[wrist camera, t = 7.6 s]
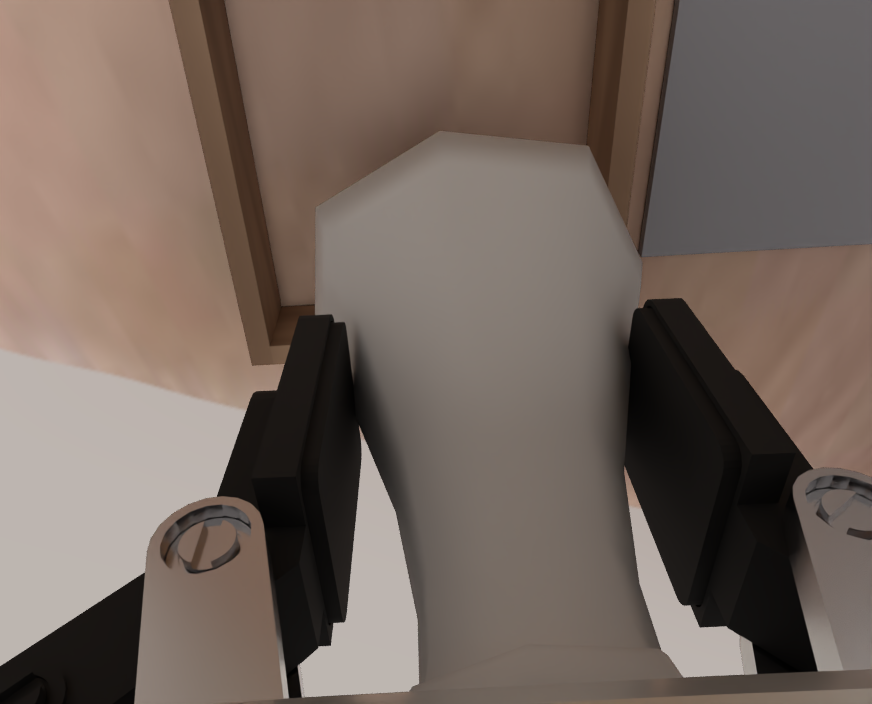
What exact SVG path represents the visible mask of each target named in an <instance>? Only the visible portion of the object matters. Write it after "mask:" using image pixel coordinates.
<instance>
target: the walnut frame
mask: <svg viewBox="0 0 872 704" xmlns="http://www.w3.org/2000/svg"><path fill="white" fill-rule="evenodd" d="M169 4H170V9H171V13H172V17H173V22H174V26H175V31H176V35H177V39H178V44H179V48H180V52H181V57H182V61H183V66H184V70H185V74H186V79H187V83H188V87H189V92H190V96H191V100H192V105H193V109H194V114H195V118H196V122H197V127H198V131H199V135H200V140H201V144H202V149H203V153H204V157H205V162H206V166H207V170H208V175H209V179H210V184H211V188H212V192H213V197H214V201H215V205H216V210H217V214H218V218H219V223H220V227H221V232H222V236H223V240H224V245H225V249H226V253H227V258H228V262H229V267H230V271H231V275H232V280H233V284H234V288H235V293H236V297H237V301H238V306H239V310H240V315H241V319H242V323H243V328H244V332H245V336H246V341H247V345H248V350H249V354H250V358H251V363H252V366H254V365H270V364H285V362H286V358H287V355H288V352H289V348H290V345H291V341H292V338H293V335H294V331H295V328H296V325H297V321H298V318H299V316H304V315H315V305H307V306H289V307H281V302H280V297H279V291H278V286H277V281H276V275H275V270H274V265H273V259H272V254H271V249H270V243H269V238H268V233H267V227H266V222H265V217H264V212H263V206H262V201H261V196H260V190H259V185H258V180H257V174H256V169H255V164H254V158H253V153H252V148H251V142H250V137H249V132H248V126H247V121H246V116H245V110H244V105H243V100H242V95H241V89H240V84H239V79H238V73H237V68H236V63H235V57H234V52H233V47H232V41H231V36H230V31H229V25H228V20H227V15H226V9H225V4H224V0H169ZM655 7H656V0H600V1H599V12H598V23H597V34H596V45H595V56H594V68H593V79H592V90H591V101H590V112H589V123H588V135H587V146H589V148H590V150H591V152H592V154H593V157H594V159H595V161H596V163H597V165H598V167H599V170H600V172H601V174H602V176H603V178H604V180H605V183H606V185H607V187H608V189H609V191H610V193H611V196H612V198H613V200H614V202H615V204H616V206H617V208H618V211H619V213H620V215H621V217H622V219H623V221H624V224H625V226H626V228H627V220H628V212H629V205H630V197H631V190H632V182H633V174H634V167H635V159H636V152H637V144H638V136H639V129H640V121H641V114H642V106H643V98H644V91H645V83H646V76H647V68H648V60H649V53H650V45H651V38H652V30H653V23H654V15H655Z"/></svg>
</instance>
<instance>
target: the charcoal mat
mask: <svg viewBox="0 0 872 704" xmlns="http://www.w3.org/2000/svg"><path fill="white" fill-rule="evenodd" d="M862 244H872V0H675V4H674V11H673V18H672V25H671V32H670V39H669V46H668V53H667V59H666V66H665V73H664V80H663V87H662V94H661V101H660V108H659V114H658V121H657V128H656V135H655V142H654V149H653V156H652V163H651V169H650V176H649V183H648V190H647V197H646V204H645V211H644V218H643V224H642V231H641V238H640V245H639V252H638V253H639V254H640V256H641V257H652V256H670V255H687V254H705V253H722V252H740V251H757V250H775V249H792V248H809V247H827V246H844V245H862Z"/></svg>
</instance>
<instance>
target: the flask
mask: <svg viewBox="0 0 872 704" xmlns="http://www.w3.org/2000/svg"><path fill="white" fill-rule="evenodd" d="M641 277H642V260H641V258H640V256H639V254H638V252H637V250H636V247H635V245H634V243H633V241H632V239H631V237H630V234H629V232H628V230H627V228H626V226H625V224H624V221H623V219H622V217H621V215H620V213H619V211H618V208H617V206H616V204H615V202H614V200H613V198H612V196H611V193H610V191H609V189H608V187H607V185H606V183H605V180H604V178H603V176H602V174H601V172H600V170H599V167H598V165H597V163H596V161H595V159H594V157H593V154H592V152H591V150H590V148H589V146H586V145H576V144H567V143H557V142H547V141H537V140H527V139H517V138H507V137H497V136H487V135H477V134H467V133H457V132H447V131H438V132H437V133H435V134H433V135H432V136H430V137H429V138H427V139H425V140H424V141H422V142H420V143H419V144H417V145H416V146H414V147H412V148H411V149H409V150H407V151H406V152H404V153H403V154H401V155H399V156H398V157H396V158H395V159H393V160H391V161H390V162H388V163H386V164H385V165H383V166H382V167H380V168H378V169H377V170H375V171H374V172H372V173H370V174H369V175H367V176H365V177H364V178H362V179H361V180H359V181H357V182H356V183H354V184H353V185H351V186H349V187H348V188H346V189H344V190H343V191H341V192H340V193H338V194H336V195H335V196H333V197H332V198H330V199H328V200H327V201H325V202H323V203H322V204H320V205H319V206H317V207H316V218H315V315H326V314H332V315H333V318H334V322H345V325H346V330H347V337H348V345H349V353H350V361H351V369H352V376H353V386H354V400H355V416H356V419H357V421H358V424H359V426H360V428H361V431H362V433H363V435H364V438H365V440H366V443H367V445H368V447H369V450H370V452H371V454H372V457H373V459H374V462H375V464H376V466H377V468H378V471H379V473H380V476H381V478H382V480H383V483H384V485H385V488H386V490H387V492H388V495H389V497H390V500H391V502H392V504H393V507H394V509H395V511H396V515H397V520H398V525H399V530H400V535H401V539H402V545H403V550H404V554H405V559H406V564H407V569H408V574H409V579H410V584H411V589H412V594H413V598H414V604H415V609H416V613H417V618H418V648H419V649H418V650H419V684H418V685H416V686H413V687H412V688H411V690H410V691H409V692H412V691H430V690H448V689H467V688H486V687H505V686H525V685H545V684H565V683H584V682H604V681H625V680H645V679H666V678H683V677H682V675H681V674H680V672H679V671H678V669H677V668H676V667H675V665H674V664H673V662H672V661H671V659H670V658H669V656H668V655H667V654H665V653H664V652H662V651H661V648H660V645H659V642H658V639H657V636H656V633H655V630H654V627H653V624H652V621H651V618H650V615H649V612H648V608H647V605H646V602H645V599H644V596H643V593H642V590H641V587H640V584H639V578H638V571H637V563H636V556H635V548H634V541H633V534H632V527H631V519H630V512H629V505H628V497H627V490H626V483H625V476H624V464H625V449H626V434H627V419H628V404H629V389H630V374H631V360H630V355H629V349H628V344H629V337H630V330H631V323H632V317H633V313H634V310H635V309H636V308H638V304H639V297H640V289H641Z"/></svg>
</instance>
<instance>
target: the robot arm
mask: <svg viewBox="0 0 872 704" xmlns="http://www.w3.org/2000/svg"><path fill="white" fill-rule="evenodd" d="M628 349H629V355H630V360H631V374H630V389H629V404H628V419H627V434H626V449H625V464H624V465H625V468H626V470H627V473H628V475H629V478H630V480H631V483H632V485H633V488H634V490H635V493H636V495H637V498H638V500H639V503H640V505H641V508H642V510H643V513H644V515H645V518H646V521H647V523H648V525H649V528H650V531H651V533H652V536H653V538H654V540H655V543H656V545H657V548H658V551H659V553H660V555H661V558H662V561H663V563H664V565H665V568H666V571H667V573H668V576H669V578H670V581H671V583H672V586H673V588H674V591H675V594H676V596H677V598H678V600H679V602H680V603H681V604H682V605H691V607H692V610H693V612H694V615H695V617H696V619H697V622H698V624H699V627H718V626H727V627H728V628H729V629H731V630H733V631H734V632H735V633H737V634H739V635H740V650H741V657H742V663H743V670H744V675H729V676H706V677H688V678H687V677H686V678H666V679H645V680H625V681H604V682H584V683H565V684H545V685H525V686H505V687H486V688H467V689H448V690H430V691H412V692H395V693H377V694H359V695H340V696H322V697H305V696H304V688H303V682H302V674H301V667H300V663H302V662H303V661H304V660H305V659H306V658H307V657H308V656H309V655H311V654H312V653H313V652H314V651H315V650H316V649H318V646H331V638H332V630H333V623H339V622H345V620H346V613H347V604H348V594H349V583H350V573H351V562H352V552H353V541H354V531H355V521H356V510H357V500H358V489H359V478H360V469H361V439H360V431H359V424H358V421H357V419H356V416H355V400H354V386H353V376H352V369H351V361H350V353H349V345H348V337H347V330H346V325H345V322H334V318H333V315H332V314H326V315H304V316H299V318H298V321H297V325H296V328H295V331H294V335H293V338H292V341H291V345H290V348H289V352H288V355H287V358H286V362H285V365H284V369H283V372H282V375H281V379H280V382H279V386H278V389H277V390H276V391H256V392H255V393H253V395H252V397H251V399H250V402H249V405H248V408H247V411H246V414H245V417H244V419H243V422H242V425H241V428H240V431H239V434H238V437H237V440H236V443H235V445H234V449H233V451H232V454H231V457H230V460H229V463H228V466H227V468H226V471H225V474H224V478H223V480H222V483H221V486H220V489H219V492H218V495H217V497H213V498H206V499H203V500H199V501H197V502H194V503H191V504H188V505H187V506H185V507H183V508H181V509H180V510H178V511H176V512H174V513H173V514H171V515H170V516H169V517H168V518H167V519H166V520H165V521H164V522H163V523H161V524H160V525H159V527H158V528H157V530H156V531H155V533H154V534H153V536H152V537H151V539H150V543H149V546H148V550H147V557H146V569H145V573H143V574H142V575H140V576H139V577H137V578H136V579H134V580H132V581H131V582H129V583H128V584H126V585H125V586H123V587H122V588H120V589H119V590H117V591H115V592H114V593H112V594H111V595H109V596H108V597H106V598H105V599H103V600H102V601H100V602H98V603H97V604H95V605H94V606H92V607H91V608H89V609H88V610H86V611H85V612H83V613H82V614H80V615H79V616H77V617H76V618H74V619H72V620H71V621H69V622H68V623H66V624H65V625H63V626H62V627H60V628H58V629H57V630H55V631H54V632H52V633H51V634H49V635H48V636H46V637H45V638H43V639H42V640H40V641H38V642H37V643H35V644H34V645H32V646H31V647H29V648H28V649H26V650H25V651H23V652H22V653H20V654H18V655H17V656H15V657H14V658H12V659H11V660H9V661H8V662H6V663H5V664H3V665H1V666H0V704H872V477H870V476H867V475H864V474H862V473H859V472H855V471H851V470H846V469H841V468H818V469H813V468H812V467H811V465H810V464H809V463H808V461H807V460H806V459H805V457H804V456H803V455H802V453H801V452H800V451H799V449H798V448H797V446H796V445H795V444H794V442H793V441H792V440H791V438H790V437H789V436H788V434H787V433H786V432H785V430H784V429H783V428H782V426H781V425H780V424H779V422H778V421H777V420H776V418H775V417H774V416H773V414H772V413H771V412H770V410H769V409H768V408H767V406H766V405H765V404H764V402H763V401H762V400H761V398H760V397H759V396H758V394H757V393H756V392H755V390H754V389H753V388H752V386H751V385H750V384H749V382H748V381H747V380H746V378H745V377H744V376H743V375H742V374H741V373H740V372H739V371H738V370H735V369H734V368H733V366H732V365H731V363H730V362H729V361H728V359H727V358H726V357H725V355H724V354H723V353H722V351H721V350H720V349H719V347H718V346H717V344H716V343H715V342H714V340H713V339H712V338H711V336H710V335H709V334H708V332H707V331H706V330H705V328H704V327H703V325H702V324H701V323H700V321H699V320H698V319H697V317H696V316H695V315H694V313H693V312H692V311H691V309H690V308H689V307H688V305H687V304H686V302H685V301H684V300H683V299H682V298H674V299H652V300H647V301H646V302H645V304H644V307H643V308H636V309H635V310H634V313H633V317H632V323H631V330H630V337H629V344H628Z"/></svg>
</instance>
